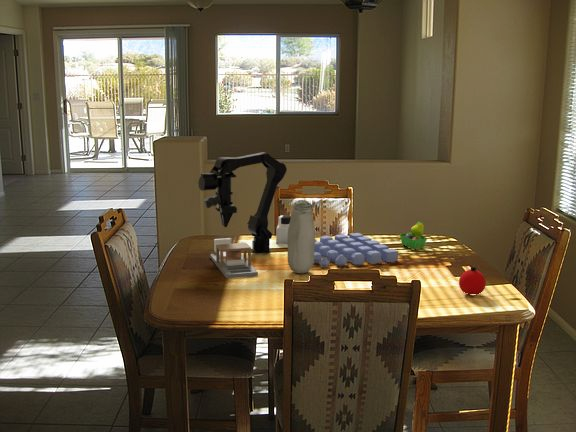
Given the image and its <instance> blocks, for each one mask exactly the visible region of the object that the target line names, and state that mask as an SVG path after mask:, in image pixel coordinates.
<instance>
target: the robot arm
mask: <svg viewBox="0 0 576 432" xmlns="http://www.w3.org/2000/svg"><path fill="white" fill-rule="evenodd" d="M257 164H261V165H262V166H263V167H265V169H266V173H265V174H266V183H265V186H264V189H263V192H262V195H261V197H260V200H259V204H258V207H257V210H256V212H255V213H254V215H252V214H251V215H250V216H249V220H248V222H247V229H248V231H249V232H250V234H251V237H253V240H252V244H251V245H252V246H251V251H253V252H254V253H255V254H269V253H271V250H270V240H271V239H272V237H273V233H272V232H271V231H270V230H269V228H268V226H269V220H268V218H269V217H268V215H269V212H270V209H271V207H272V203H273V200H274V198H275V194H276V192H277V189H278V185H279V183H280V182H282V180H283V179H284V178H285V176H286V173H287V166H286V164H285V163H284V162H280V161H279V160H277V159H276V158H274V157H272V156H271V155H270V154H269V153H267V152H263V151H260V152H258V153H252V154H246V155H242V156H237V157H230V156H229V157H228V156H226V157H225V156H224V157H223V156H220V157H218V158H217V159H216V160H215V163H214V165H213V166H212V168H211V170H210V171H209V172H208V173H205V172H204V173H200V177H199V178H198V183H197V184H198V185H197V186H198V188H199V190H200V191H202V192H203V191H204V192H205V191H212V190H213V191H215V194H213V195H210V196H208V197H205V198H204V199H202V201H203V204H204V206H205V208H207V209H209V208H211V207H215V208H214V209H215V210H216V211H217V212H218V213H219V217H220V221H221V225H222V226H223V227H224V228H227V227H228V225H229V223H230V220H231V219H232V217H233V215H234V214H236V213H238V208H237V207H236V206H235V204H233V200H232V195H233V194H234V193H233V191H232V178H236V177H237V175H236V174H234V171H236V170H238V169H239V168H242V167H247V166H252V165H257ZM216 189H217V190H216Z"/></svg>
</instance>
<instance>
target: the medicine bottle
mask: <svg viewBox="0 0 576 432" xmlns="http://www.w3.org/2000/svg"><path fill="white" fill-rule="evenodd" d="M277 219H278V221H277V222H278V223H277V226H276V228H275V229H276V230H275V231H276V232H275V235H276V236H275V237H276V238H275V239H276V240H275V241H276V244H287V245H288V228H289V224H290V220H291V215H289V214H284V215H283V214H282V215H280V216H278V218H277Z"/></svg>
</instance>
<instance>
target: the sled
mask: <svg viewBox="0 0 576 432" xmlns="http://www.w3.org/2000/svg"><path fill="white" fill-rule="evenodd" d="M213 242H214V243H213V249H214V250H213V251H214V252H215V253H216V245H218V244H232V237H226V238H214V239H213ZM219 257H220V251H219ZM223 262H224V263H225V264H226V265H227V266H235V265H245V262H244V259H238V260H226V252H223Z"/></svg>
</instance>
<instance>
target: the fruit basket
mask: <svg viewBox="0 0 576 432" xmlns="http://www.w3.org/2000/svg"><path fill="white" fill-rule="evenodd" d="M424 229H425V226H424V222H421V221H418V222H416V223H415V225H413V226H411V228H410V230H411V232H407V233H402V234H399V237H400V241H401V246H402V245H405V246H407V247H410V248H413V249H416V248H422V247H424V248H425V245H426V242H427V240H428V238H427V237H425V236H423V234H424ZM407 247H406V248H407Z"/></svg>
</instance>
